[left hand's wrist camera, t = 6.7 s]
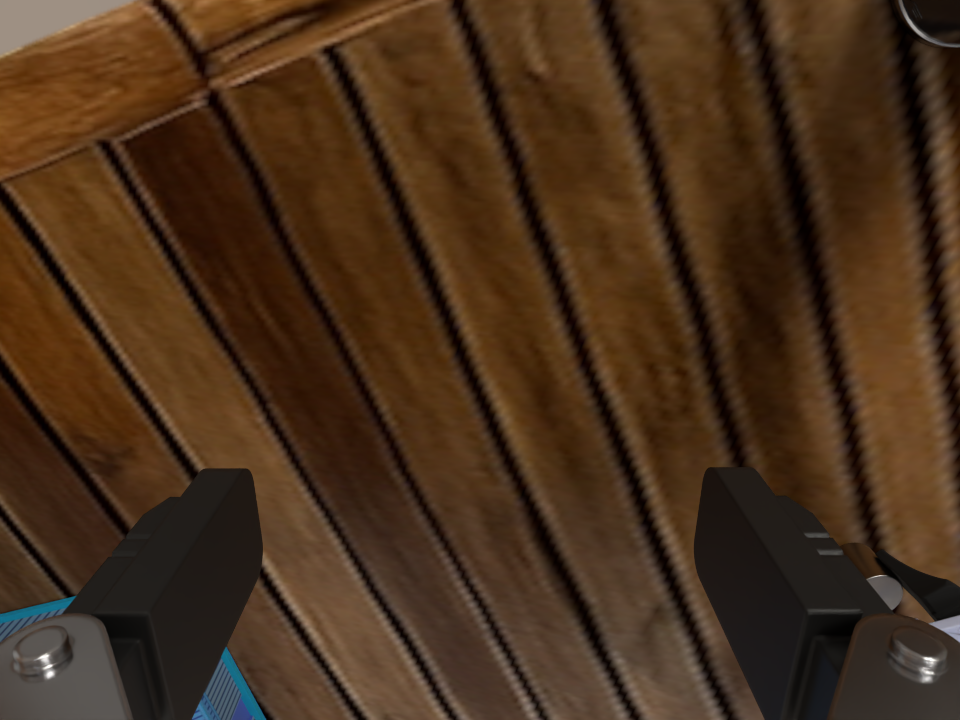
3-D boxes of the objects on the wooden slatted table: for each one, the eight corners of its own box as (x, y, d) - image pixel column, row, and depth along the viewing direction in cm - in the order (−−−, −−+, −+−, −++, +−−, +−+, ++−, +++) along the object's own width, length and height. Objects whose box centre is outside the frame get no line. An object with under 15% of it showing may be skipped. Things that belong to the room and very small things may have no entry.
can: (864, 534, 52) (893, 567, 48) (880, 568, 53) (910, 603, 49) (817, 555, 53) (843, 589, 49) (834, 588, 54) (861, 624, 50)
